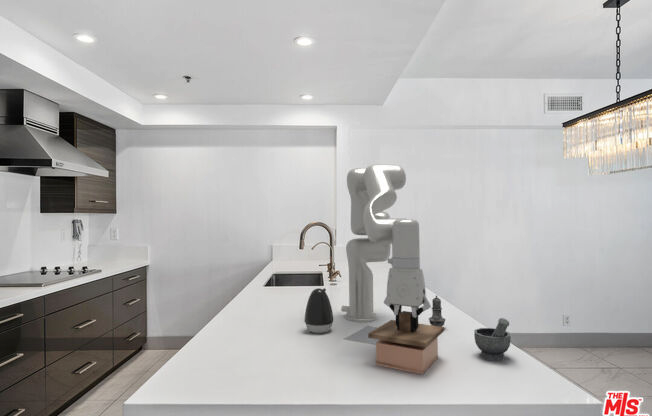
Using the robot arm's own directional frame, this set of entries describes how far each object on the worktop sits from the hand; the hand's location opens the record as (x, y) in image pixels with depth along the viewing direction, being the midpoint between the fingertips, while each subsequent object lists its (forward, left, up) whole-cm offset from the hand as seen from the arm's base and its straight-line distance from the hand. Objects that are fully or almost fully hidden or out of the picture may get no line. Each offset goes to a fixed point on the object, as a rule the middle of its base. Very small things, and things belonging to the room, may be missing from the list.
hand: (407, 329), depth 111 cm
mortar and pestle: (+20, +15, -9) cm, 27 cm away
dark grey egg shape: (-37, +12, -9) cm, 40 cm away
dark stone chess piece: (-2, +35, -9) cm, 36 cm away
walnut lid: (0, 0, -2) cm, 2 cm away
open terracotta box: (0, 0, -9) cm, 9 cm away
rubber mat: (-16, +17, -9) cm, 25 cm away
